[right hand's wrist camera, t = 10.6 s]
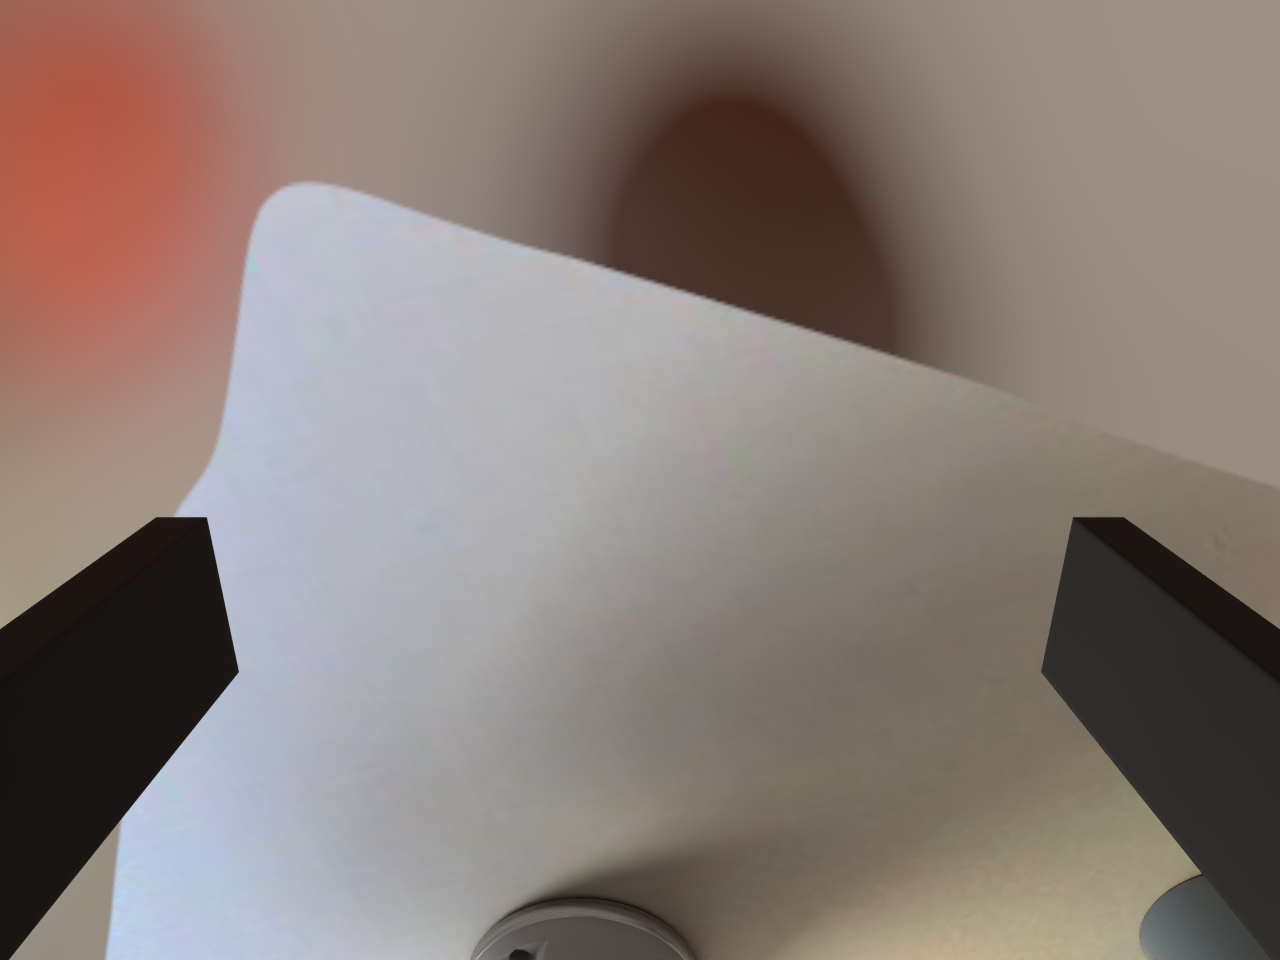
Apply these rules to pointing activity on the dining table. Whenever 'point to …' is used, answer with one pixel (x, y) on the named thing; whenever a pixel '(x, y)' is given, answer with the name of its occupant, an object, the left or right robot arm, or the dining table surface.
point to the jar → (1196, 927)
